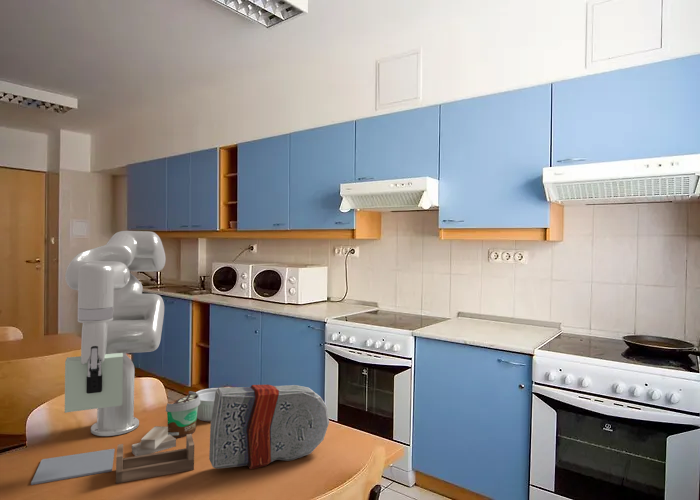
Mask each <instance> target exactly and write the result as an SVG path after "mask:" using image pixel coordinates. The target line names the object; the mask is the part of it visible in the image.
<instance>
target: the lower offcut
mask: <svg viewBox="0 0 700 500" xmlns="http://www.w3.org/2000/svg"><path fill="white" fill-rule="evenodd" d="M176 446H177V438H174V437H173V436H171V435H168V436H167V437H166V438H165V439H164V440H163V441H162V442H161V443H160V444H159V446H158V447H157V448H156V449H141V441H140V442H138V443H134V444H131V454H133V455H134V456H140V455H147V454H153V453H159V452H163V451H165V450H169V449H172V448H175V447H176Z"/></svg>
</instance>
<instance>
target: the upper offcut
mask: <svg viewBox="0 0 700 500" xmlns="http://www.w3.org/2000/svg"><path fill="white" fill-rule="evenodd" d="M167 436H168V426H164V425H163V426H162V425H161V426H158V425H157V426H156V425H155V426H154V427H152V428H151V429H150V430H149V431H148V432H147V433H146V434H144V436H143V437H142V438H141V439H140V442H141V449H156V448H157V447H158V446H159V444H160V443H161V442H162V441H163V440H164V439H165V438H166V437H167Z"/></svg>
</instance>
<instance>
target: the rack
mask: <svg viewBox="0 0 700 500" xmlns="http://www.w3.org/2000/svg"><path fill="white" fill-rule="evenodd" d="M185 438H186V439H185V440H186V441H185V443H186V444H185V445H186V446H185V448H178V449H173V450H168V451H167V450H166V451H158V452H155V453H152V454H147V455H140V456H135V455H134V456H129V457H124V443H120V444H117V447H116V457H115V458H116V460H115V461H116V462H115V484H121V483H127V482H132V481H137V480H143V479H149V478H154V477H160V476H165V475H171V474H178V473H183V472H188V471H193V470H195V442H194V439H193V434H187V435H186V436H185Z"/></svg>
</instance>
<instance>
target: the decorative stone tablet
mask: <svg viewBox="0 0 700 500" xmlns="http://www.w3.org/2000/svg"><path fill="white" fill-rule="evenodd" d="M217 388H218V389H217V390H216V393H215V399H214V406H213V412H212V419H211V421H210V428H209V455H208V456H209V459H208V460H209V461H210V464H211V467H212V468H215V469H226V468H235V467H236V468H237V467H243V466H244V467H245V466H247V467H248V468H249V470H254V469H258V468H262V467H267V466H268V465H269V464H271V463H273V462H274V461H294V460H297V459H299V458H303V457H304V456H308V455H310V454H312V453H313V452H314V450H315V449H316V448H317V447H318V446H319V445H320V444H322V442H323V441H324V439H325V436H326V434H327V431H328V427H329V425H330V419H329V411H328V405H327V404H326V403H325V401H324V400H323V398H322V397H321V396H320V395H319V394H318V393H316V392H315V391H314V390H313V389H311V388H310V387H307V386H301V385H296V384H292V385H272V384H252V385H251V386H246V387H245V386H240V387H239V386H238V387H236V386H235V387H217Z"/></svg>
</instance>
